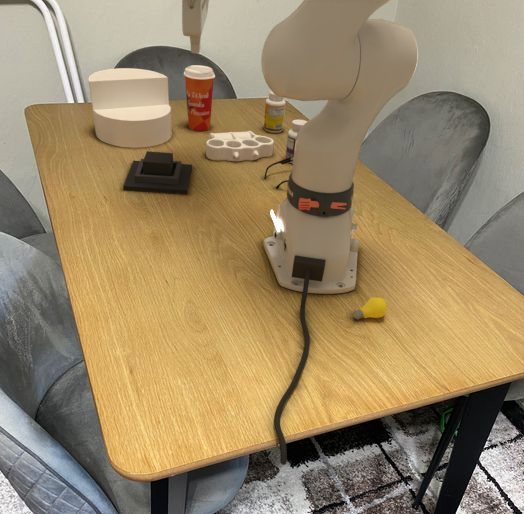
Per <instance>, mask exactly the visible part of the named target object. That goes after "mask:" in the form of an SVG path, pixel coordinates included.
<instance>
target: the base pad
mask: <svg viewBox="0 0 524 514" xmlns="http://www.w3.org/2000/svg"><path fill="white" fill-rule="evenodd" d="M143 160H144V158H140V160H132V163H131V166H130V168H129V171H128V173H127V174H126V178H125V181H124V183H123V185H122V187H123V188H122V189H123V191H133V192H148V193H164V194H165V193H166V194H179V195H188V192H189V186H190V181H191V174H192V171H193V164H191V163H183V161H181V160H173V168H174V170H173V174H172V176H158V175H144V171H143Z"/></svg>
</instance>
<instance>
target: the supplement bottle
mask: <svg viewBox="0 0 524 514" xmlns="http://www.w3.org/2000/svg"><path fill="white" fill-rule="evenodd" d="M286 105H287V104H286V100H285V99H284V97H280V96H277V95H275V94H274V93H273V92H272V91H271V90H269V93H268V97H267V98H266V100H265V105H264V106H265V107H264V121H263V129H264V130H265V132H268V133H270V134H279V133H281V132H283V130H284V123H285V114H286V113H285V112H286Z"/></svg>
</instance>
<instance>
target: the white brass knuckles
mask: <svg viewBox="0 0 524 514" xmlns="http://www.w3.org/2000/svg"><path fill="white" fill-rule="evenodd" d="M274 143H275V141H274V139H273V138H272V137H269V136H266V135H259V134H255V133H254V132H253V131H251V130H246V131H229V132H215V133H214V132H210V133H208V140H207V141H206V142H205V156H206V158H207V159H209V160H211V161H215V162H219V161H229V162H237V163H239V162H240V163H241V162H243V161H250V162H251V161H256V160H259V159H260V158H269V157H272V156H273V154H274Z"/></svg>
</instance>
